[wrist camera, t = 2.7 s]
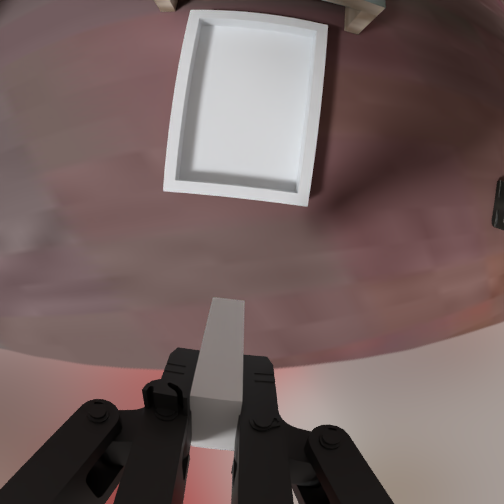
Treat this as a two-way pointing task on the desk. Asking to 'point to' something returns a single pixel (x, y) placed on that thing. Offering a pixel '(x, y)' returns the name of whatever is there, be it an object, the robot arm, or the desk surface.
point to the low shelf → (356, 3)
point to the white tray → (246, 107)
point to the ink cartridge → (499, 207)
